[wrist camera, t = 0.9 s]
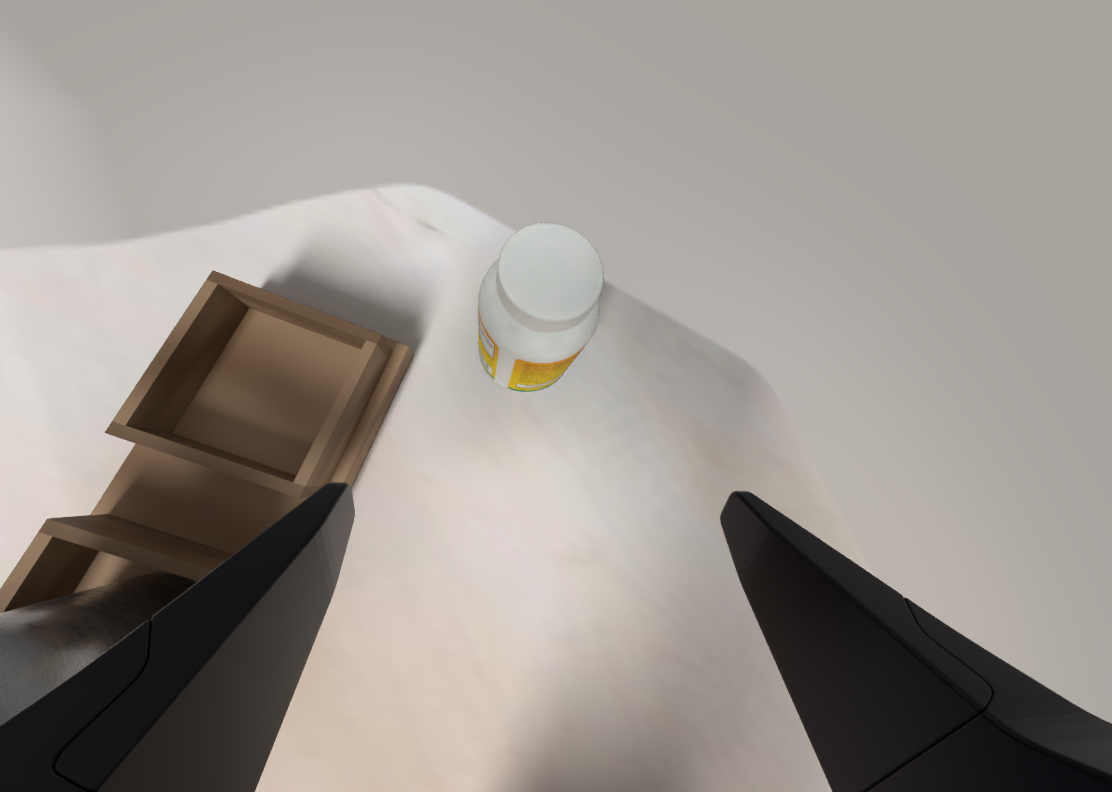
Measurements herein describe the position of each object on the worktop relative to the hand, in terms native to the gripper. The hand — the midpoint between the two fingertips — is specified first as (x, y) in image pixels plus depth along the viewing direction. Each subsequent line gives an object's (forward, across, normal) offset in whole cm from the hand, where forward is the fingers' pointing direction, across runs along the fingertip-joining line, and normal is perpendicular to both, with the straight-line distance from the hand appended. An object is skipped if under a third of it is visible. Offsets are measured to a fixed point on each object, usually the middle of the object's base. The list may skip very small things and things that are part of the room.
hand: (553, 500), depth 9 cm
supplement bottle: (+15, 0, +3) cm, 16 cm away
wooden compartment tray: (+9, +13, +10) cm, 19 cm away
